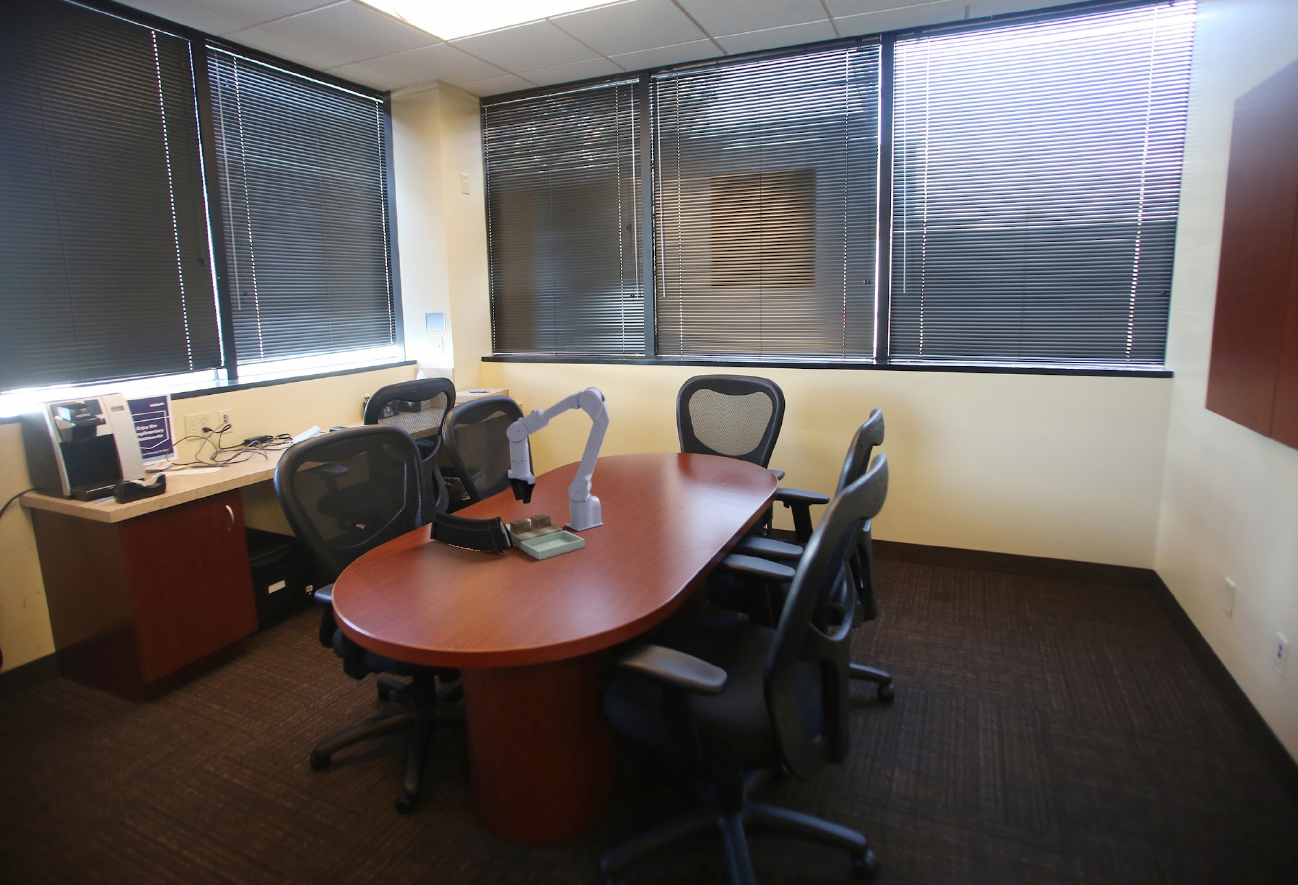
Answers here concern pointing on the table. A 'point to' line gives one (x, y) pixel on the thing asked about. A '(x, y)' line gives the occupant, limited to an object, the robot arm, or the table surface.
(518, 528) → the walnut block
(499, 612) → the table surface
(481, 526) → the magazine
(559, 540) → the box
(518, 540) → the maple board
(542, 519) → the walnut block
